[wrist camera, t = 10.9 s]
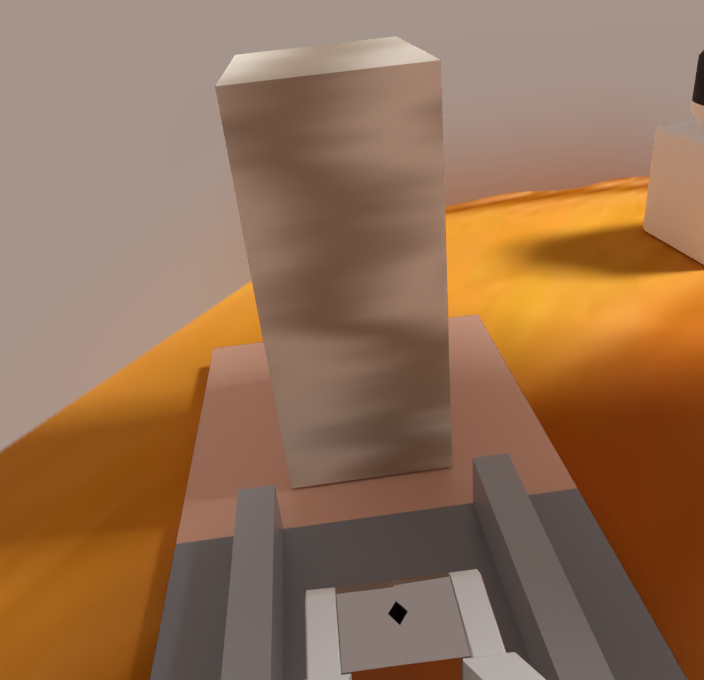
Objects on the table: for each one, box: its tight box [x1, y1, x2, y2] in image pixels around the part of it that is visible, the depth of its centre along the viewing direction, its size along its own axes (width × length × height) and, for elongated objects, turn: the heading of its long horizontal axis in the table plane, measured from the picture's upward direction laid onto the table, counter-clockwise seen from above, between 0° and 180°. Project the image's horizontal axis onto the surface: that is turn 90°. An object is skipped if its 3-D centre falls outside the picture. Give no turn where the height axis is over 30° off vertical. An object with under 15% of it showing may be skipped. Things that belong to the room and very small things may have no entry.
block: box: [215, 36, 452, 489], centre depth 24 cm, size 6×8×14 cm
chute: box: [150, 314, 687, 680], centre depth 22 cm, size 14×27×3 cm, turn 5°
